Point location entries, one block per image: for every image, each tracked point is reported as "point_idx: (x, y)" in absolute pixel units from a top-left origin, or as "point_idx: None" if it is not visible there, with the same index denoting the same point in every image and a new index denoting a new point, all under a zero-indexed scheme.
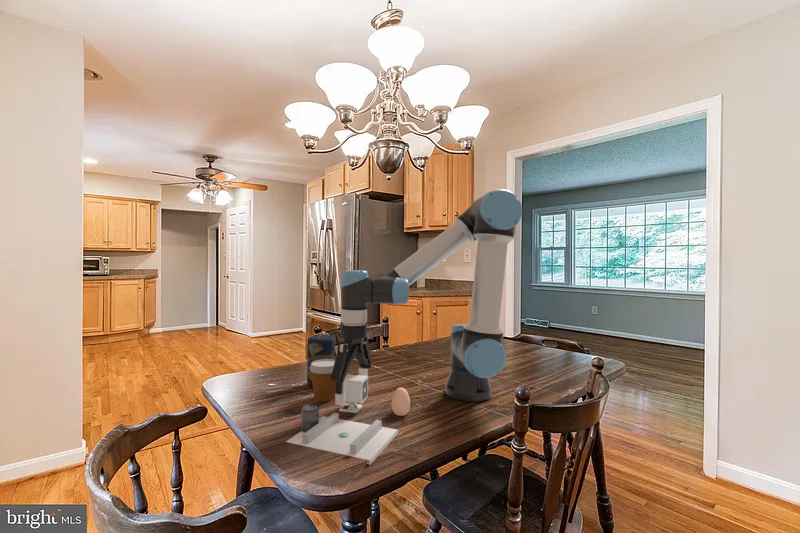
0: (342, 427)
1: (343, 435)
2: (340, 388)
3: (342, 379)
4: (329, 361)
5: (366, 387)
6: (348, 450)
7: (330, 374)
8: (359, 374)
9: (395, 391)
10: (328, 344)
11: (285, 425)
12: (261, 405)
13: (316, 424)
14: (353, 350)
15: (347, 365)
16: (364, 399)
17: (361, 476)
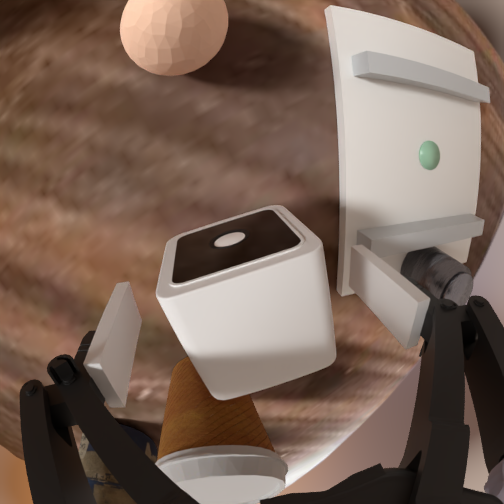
0: (393, 187)
1: (434, 153)
2: (422, 289)
3: (455, 306)
4: None
5: (197, 251)
6: (470, 109)
7: (247, 441)
8: (127, 372)
9: (194, 23)
10: None
11: (388, 334)
12: (306, 433)
13: (436, 249)
14: (457, 497)
15: (458, 375)
16: (229, 219)
17: (488, 61)
